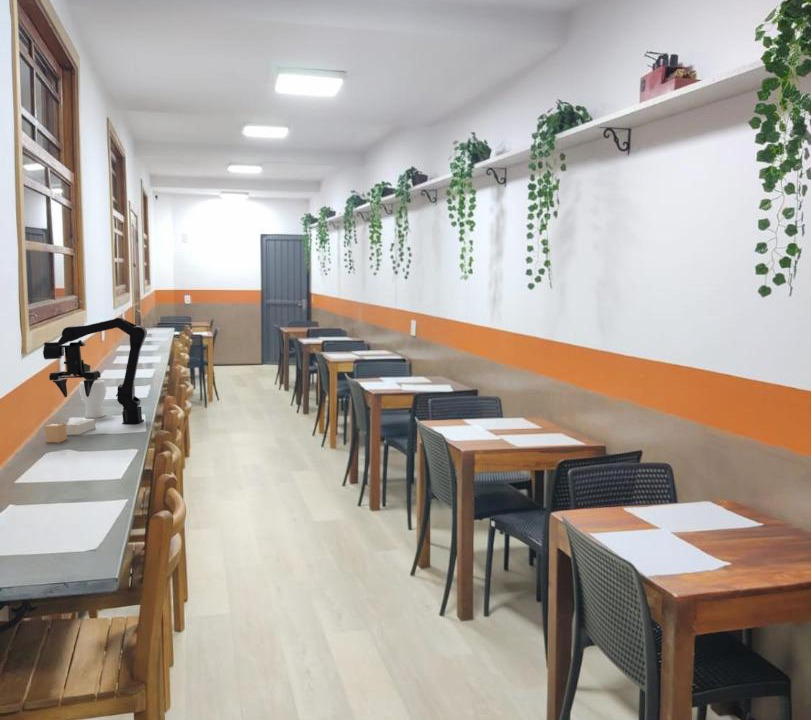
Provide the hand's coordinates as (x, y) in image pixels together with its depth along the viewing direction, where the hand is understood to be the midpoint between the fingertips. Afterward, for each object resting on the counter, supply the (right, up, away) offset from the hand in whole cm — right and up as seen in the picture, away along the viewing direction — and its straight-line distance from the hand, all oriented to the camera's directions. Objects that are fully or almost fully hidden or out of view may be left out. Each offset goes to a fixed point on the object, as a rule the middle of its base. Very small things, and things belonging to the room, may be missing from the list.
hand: (76, 396), depth 297 cm
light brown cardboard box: (+3, -15, -23) cm, 28 cm away
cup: (-1, -10, +21) cm, 23 cm away
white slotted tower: (+5, -13, -8) cm, 16 cm away
